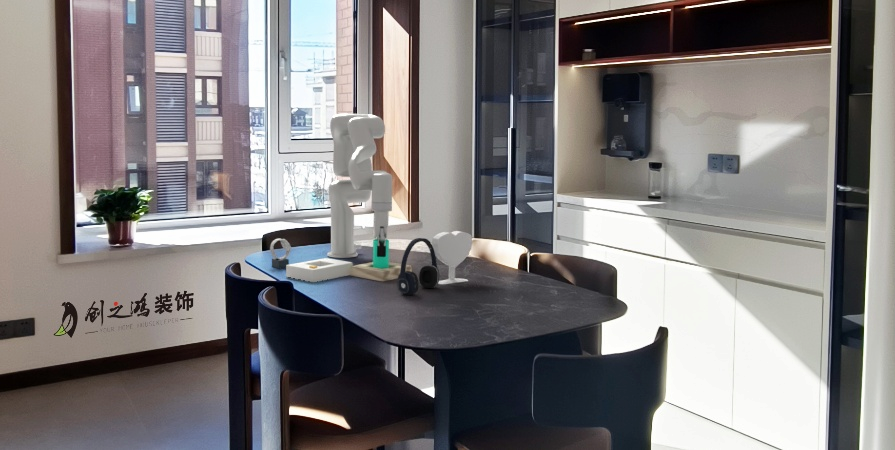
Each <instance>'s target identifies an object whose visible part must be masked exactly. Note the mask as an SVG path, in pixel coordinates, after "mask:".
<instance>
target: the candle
mask: <svg viewBox="0 0 895 450" xmlns="http://www.w3.org/2000/svg"><path fill="white" fill-rule="evenodd" d="M379 240H380V239H379ZM372 242H373V243H372V255H373V256H372V262H373V268H379V269H385V268H389V262H390V258H389V257H390V240H388V239H387V238H386V239H385V246H386V256H385V257H377V246H378V239H377V238H375V239H373V241H372Z"/></svg>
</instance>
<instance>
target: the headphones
mask: <svg viewBox="0 0 895 450" xmlns="http://www.w3.org/2000/svg"><path fill="white" fill-rule="evenodd" d="M420 242H423V243H425V245H426V246H427V248H428V250H429V253H430V257H431V264H430V265H429V264H428V265H424V266H422V267H421V268H420V271H419V275H417V274H416V272H413V271H412V272H411V271H405V269H406V265H407V261H408V258H409V255H410V253H411V251H412V249H413V247H414V246H415V245H416V244H417V243H420ZM400 264H401V270H400V274H399V276H398V278H397V288H398V292H400V294H403V295H405V296H412V295H415V294H416V293H418V292H417V291H419V284H420V286H421V287H423V288H426V289H434V288H436V287H437V286H438V285H439V284H438V282H439V281H440V271H439V269H438V264H437V257H436V256H435V251H434V248H433V246H432V242H431V241H430V240H429V239H428V238H423V237H418V238H417V237H416V238H414V239H412V240H411V241H410V242H409V243H408V244H407V246H406V248H405V250H404V253H403V255H402V259H401V263H400Z"/></svg>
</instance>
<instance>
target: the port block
mask: <svg viewBox="0 0 895 450" xmlns="http://www.w3.org/2000/svg"><path fill="white" fill-rule="evenodd" d="M351 266H354V264H353V262H352V261H345V260H339V259H335V258H328V257H324V258H319V259H313V260H308V261H307V260H306V261H300V262H297V263H289V265H286V268H285V271H286V274H285V275H286V276H285V277H286V278H288V277H291V278H290V279H293V278H295V279H294V280H298V279H301V280H300V281H303V280H305V281H304V282H308V281H310V282H309V283H317V281H318V282H322V280H323V281H326V280H327V279H328V280H333V279H337V278H342V277H347V276H351ZM328 280H327V281H328Z"/></svg>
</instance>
